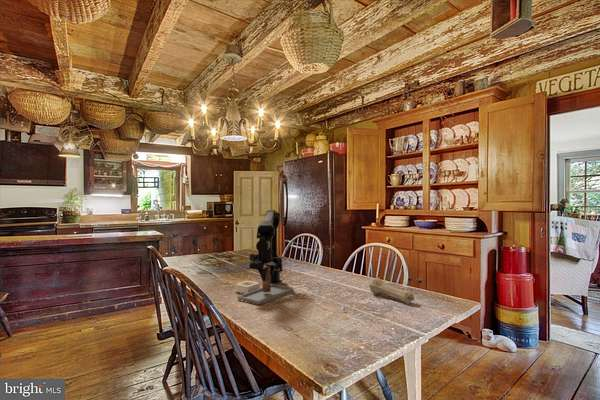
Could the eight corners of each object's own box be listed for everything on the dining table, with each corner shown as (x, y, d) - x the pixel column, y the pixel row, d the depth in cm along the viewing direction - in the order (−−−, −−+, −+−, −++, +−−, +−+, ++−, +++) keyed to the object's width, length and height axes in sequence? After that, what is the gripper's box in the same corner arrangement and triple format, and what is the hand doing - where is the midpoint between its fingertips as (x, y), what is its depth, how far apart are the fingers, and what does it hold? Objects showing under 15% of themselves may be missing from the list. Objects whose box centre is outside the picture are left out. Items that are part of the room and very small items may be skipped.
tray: (272, 287, 168) (272, 283, 168) (293, 291, 160) (293, 287, 160) (237, 299, 147) (237, 296, 147) (259, 305, 139) (259, 301, 139)
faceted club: (377, 288, 160) (421, 303, 140) (366, 296, 155) (410, 312, 135) (375, 273, 158) (418, 286, 138) (364, 280, 154) (407, 294, 133)
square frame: (247, 287, 167) (247, 280, 167) (260, 290, 162) (259, 282, 162) (235, 292, 160) (235, 284, 160) (247, 294, 155) (247, 286, 155)
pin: (266, 289, 156) (265, 266, 156) (272, 290, 154) (271, 266, 154) (260, 291, 153) (260, 267, 153) (267, 292, 151) (266, 268, 151)
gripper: (266, 245, 166) (266, 274, 166) (241, 250, 151) (241, 282, 151) (282, 246, 160) (282, 277, 160) (258, 252, 144) (258, 285, 144)
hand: (266, 280), depth 154 cm, fingers closed on pin, 4 cm apart
